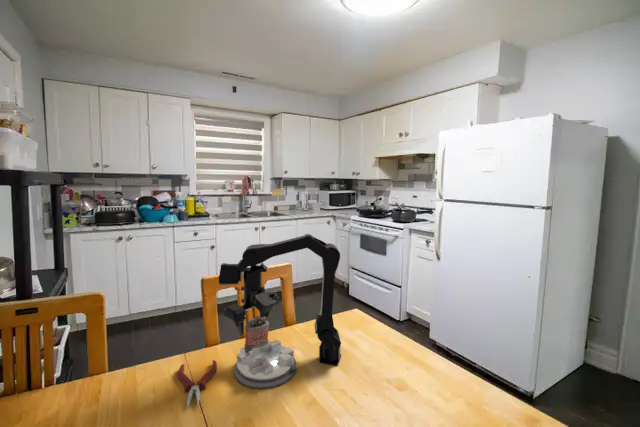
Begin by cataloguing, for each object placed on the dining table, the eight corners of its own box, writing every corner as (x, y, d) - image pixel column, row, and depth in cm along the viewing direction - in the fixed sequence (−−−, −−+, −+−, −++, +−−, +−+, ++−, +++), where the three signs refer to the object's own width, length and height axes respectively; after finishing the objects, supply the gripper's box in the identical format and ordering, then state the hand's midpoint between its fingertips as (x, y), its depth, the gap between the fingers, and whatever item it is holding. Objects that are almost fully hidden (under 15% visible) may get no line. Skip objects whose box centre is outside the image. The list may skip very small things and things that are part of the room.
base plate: (304, 356, 110) (304, 353, 110) (283, 394, 91) (283, 390, 91) (251, 348, 115) (251, 345, 115) (221, 382, 96) (221, 378, 96)
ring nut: (273, 343, 115) (273, 333, 115) (304, 365, 102) (305, 353, 102) (226, 362, 103) (226, 350, 103) (256, 390, 90) (255, 377, 90)
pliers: (169, 415, 83) (168, 406, 83) (179, 370, 102) (179, 362, 102) (215, 407, 86) (215, 398, 86) (217, 365, 105) (217, 357, 105)
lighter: (266, 338, 110) (267, 312, 108) (269, 344, 107) (271, 317, 105) (243, 344, 106) (244, 317, 104) (246, 350, 103) (247, 323, 101)
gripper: (245, 298, 91) (245, 349, 93) (290, 282, 106) (290, 327, 108) (222, 289, 98) (223, 337, 100) (267, 275, 113) (267, 317, 115)
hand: (253, 329), depth 105 cm, fingers open, 9 cm apart
